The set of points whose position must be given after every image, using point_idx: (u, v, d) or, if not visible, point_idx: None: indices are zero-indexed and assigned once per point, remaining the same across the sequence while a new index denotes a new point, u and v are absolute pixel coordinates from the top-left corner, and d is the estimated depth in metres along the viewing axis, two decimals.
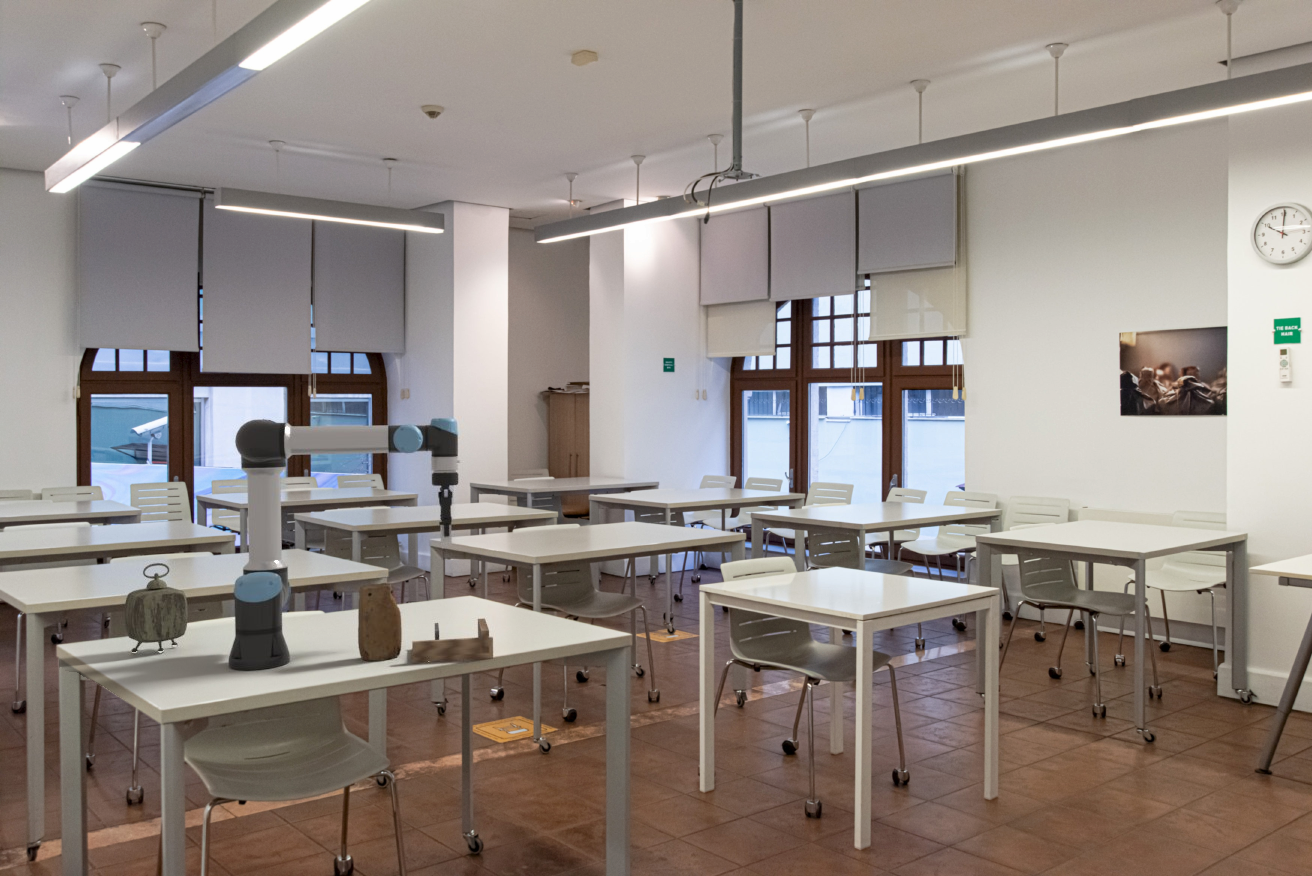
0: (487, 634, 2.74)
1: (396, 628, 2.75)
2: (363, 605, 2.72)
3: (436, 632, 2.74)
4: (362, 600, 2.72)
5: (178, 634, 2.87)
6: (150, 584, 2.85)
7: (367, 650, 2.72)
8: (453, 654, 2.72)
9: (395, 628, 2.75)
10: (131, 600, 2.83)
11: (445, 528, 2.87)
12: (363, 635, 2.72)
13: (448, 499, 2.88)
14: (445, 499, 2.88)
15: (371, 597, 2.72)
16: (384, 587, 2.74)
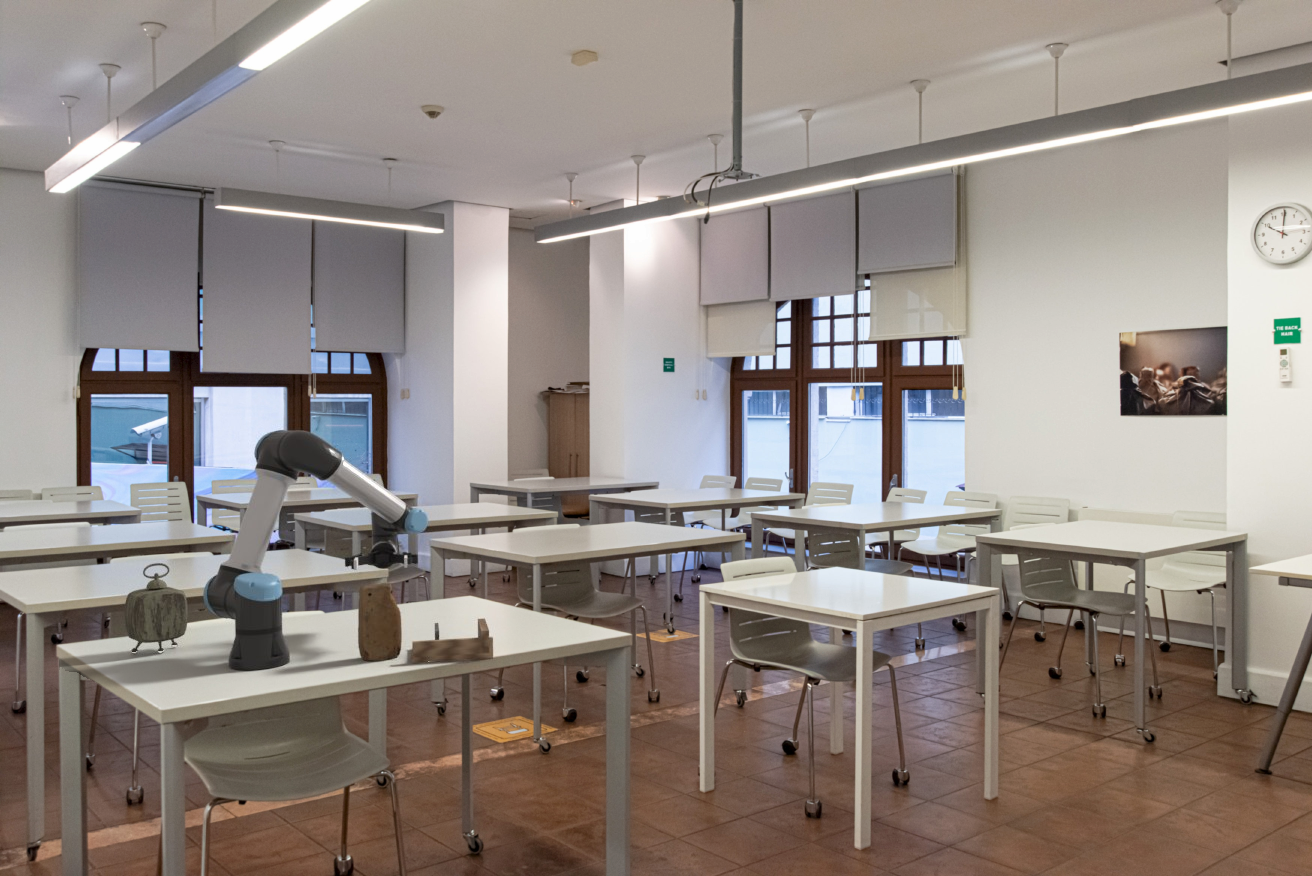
0: (487, 634, 2.74)
1: (396, 628, 2.75)
2: (363, 605, 2.72)
3: (436, 632, 2.74)
4: (362, 600, 2.72)
5: (178, 634, 2.87)
6: (150, 584, 2.85)
7: (367, 650, 2.72)
8: (453, 654, 2.72)
9: (395, 628, 2.75)
10: (131, 600, 2.83)
11: (411, 559, 2.94)
12: (363, 635, 2.72)
13: None
14: None
15: (371, 597, 2.72)
16: (384, 587, 2.74)
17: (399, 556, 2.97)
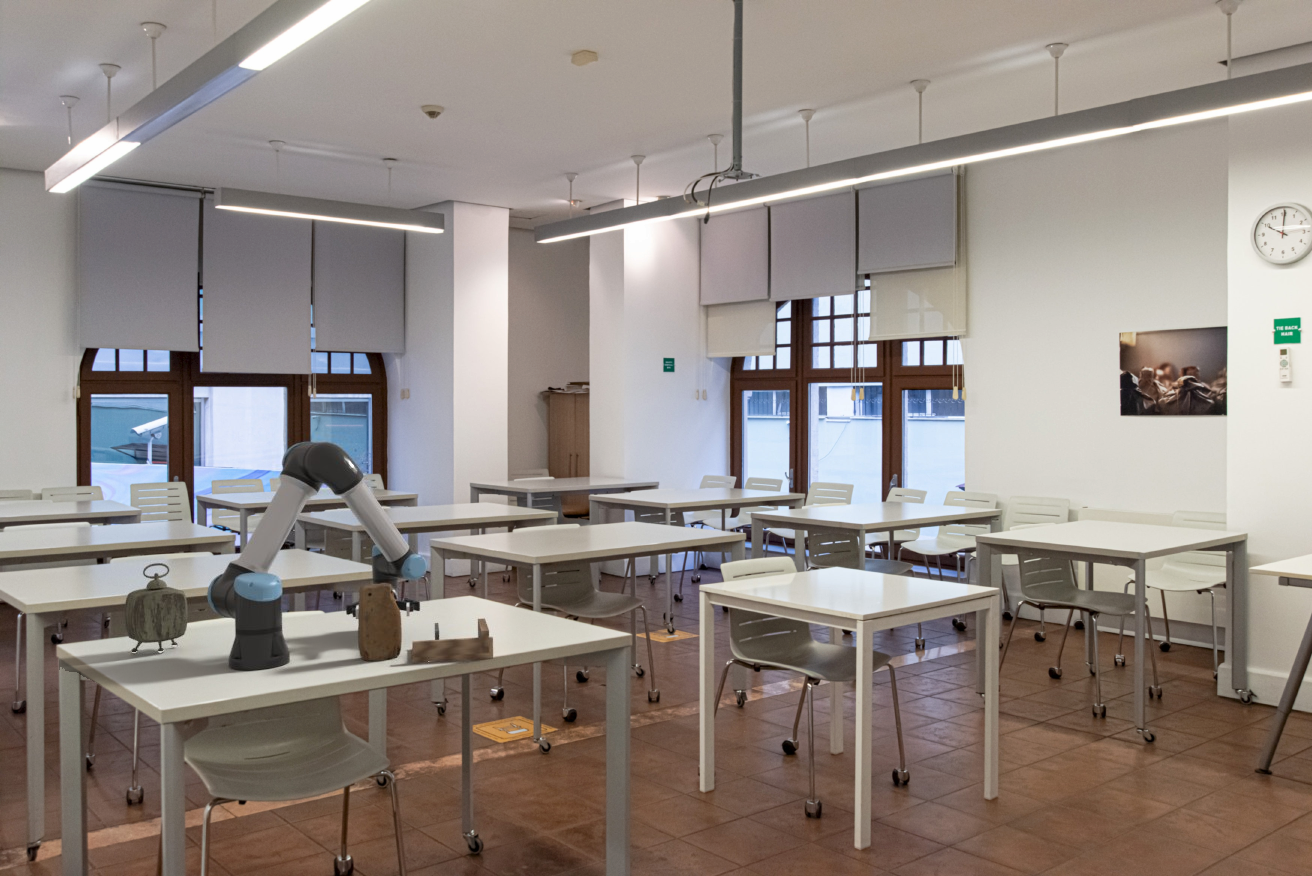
0: (487, 634, 2.74)
1: (396, 628, 2.75)
2: (363, 605, 2.72)
3: (436, 632, 2.74)
4: (362, 600, 2.72)
5: (178, 634, 2.87)
6: (150, 584, 2.85)
7: (367, 650, 2.72)
8: (453, 654, 2.72)
9: (395, 628, 2.75)
10: (131, 600, 2.83)
11: None
12: (363, 635, 2.72)
13: None
14: None
15: (371, 597, 2.72)
16: (384, 587, 2.74)
17: (401, 603, 2.94)
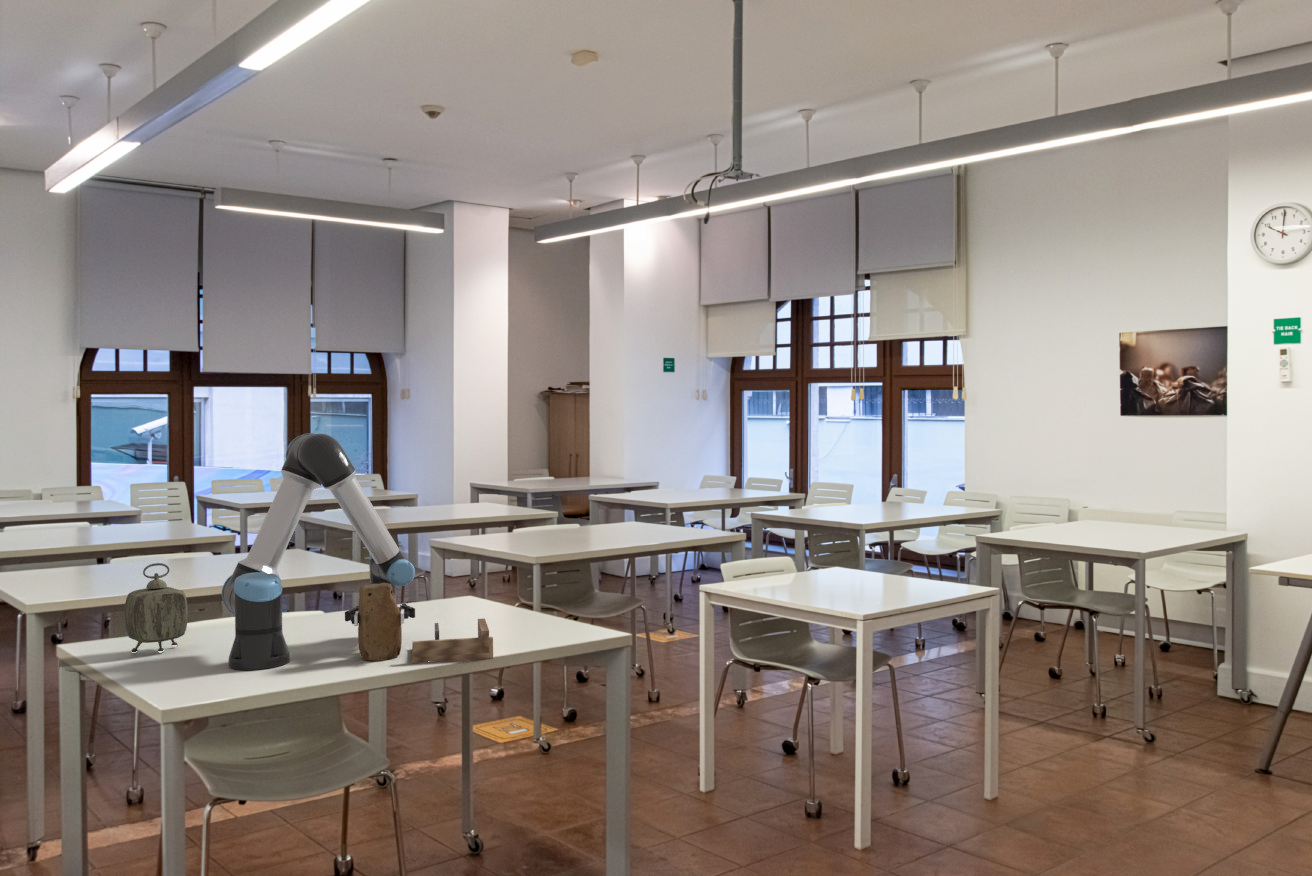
0: (487, 634, 2.74)
1: (396, 628, 2.75)
2: (363, 605, 2.72)
3: (436, 632, 2.74)
4: (362, 600, 2.72)
5: (178, 634, 2.87)
6: (150, 584, 2.85)
7: (367, 650, 2.72)
8: (453, 654, 2.72)
9: (395, 628, 2.75)
10: (131, 600, 2.83)
11: (408, 613, 2.80)
12: (363, 635, 2.72)
13: None
14: None
15: (371, 597, 2.72)
16: (384, 587, 2.74)
17: None
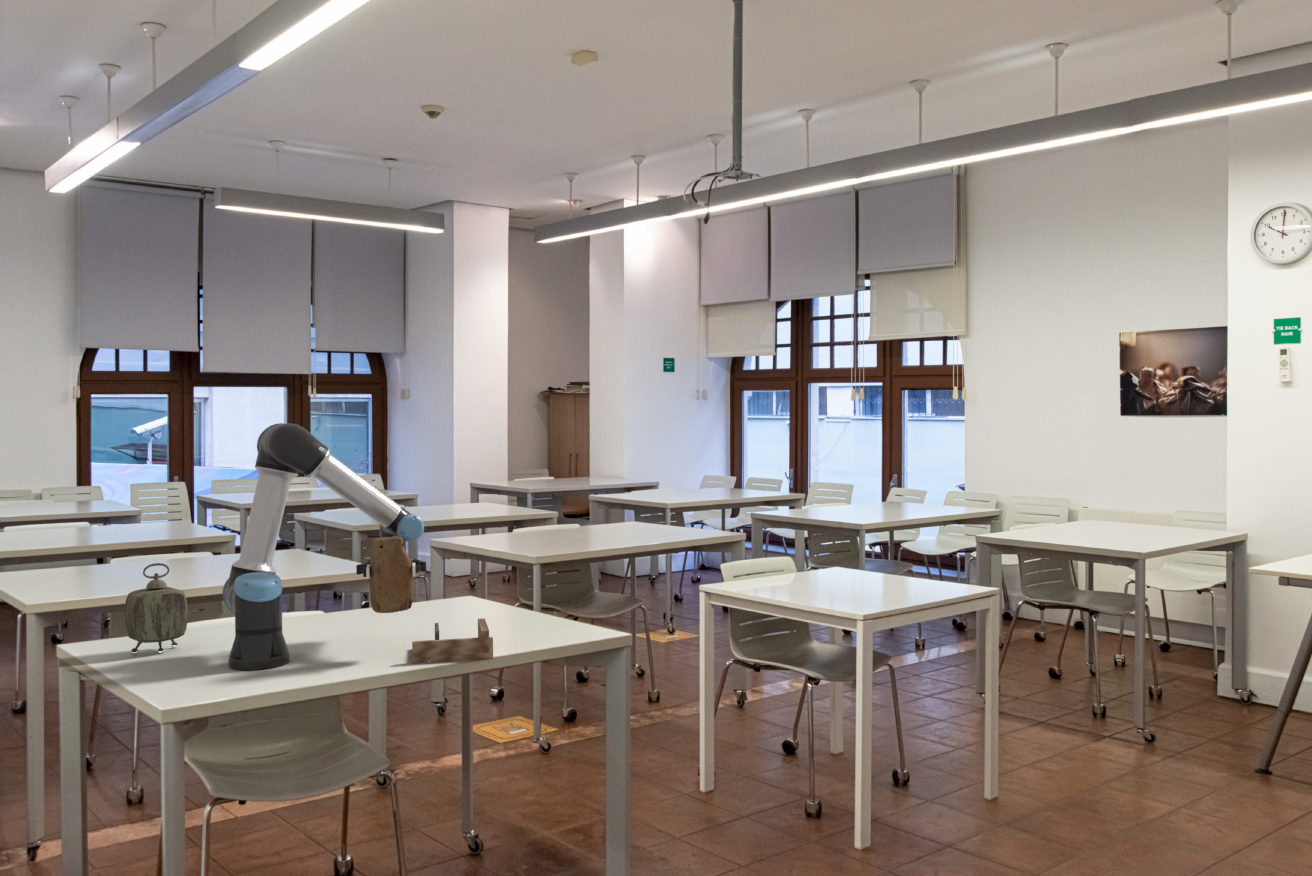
0: (487, 634, 2.74)
1: (408, 580, 2.76)
2: (375, 557, 2.73)
3: (436, 632, 2.74)
4: (374, 552, 2.73)
5: (178, 634, 2.87)
6: (150, 584, 2.85)
7: (379, 602, 2.73)
8: (453, 654, 2.72)
9: (406, 580, 2.76)
10: (131, 600, 2.83)
11: (419, 566, 2.81)
12: (375, 587, 2.73)
13: None
14: None
15: (383, 549, 2.73)
16: (395, 539, 2.75)
17: None
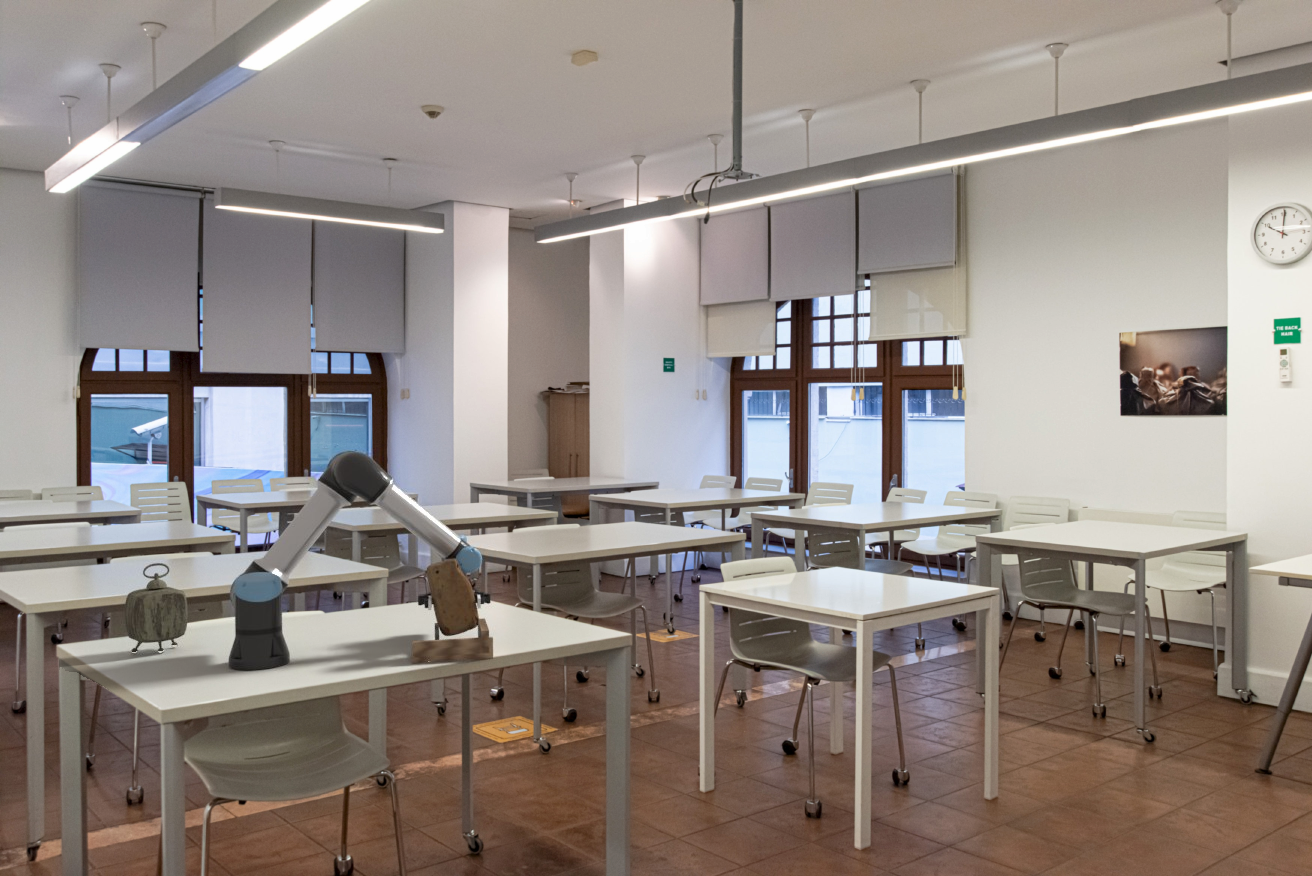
0: (487, 634, 2.74)
1: (470, 599, 2.80)
2: (433, 583, 2.76)
3: (436, 632, 2.74)
4: (431, 579, 2.77)
5: (178, 634, 2.87)
6: (150, 584, 2.85)
7: (447, 625, 2.77)
8: (453, 654, 2.72)
9: (468, 599, 2.80)
10: (131, 600, 2.83)
11: None
12: (439, 612, 2.77)
13: None
14: None
15: (439, 574, 2.77)
16: (449, 562, 2.78)
17: None
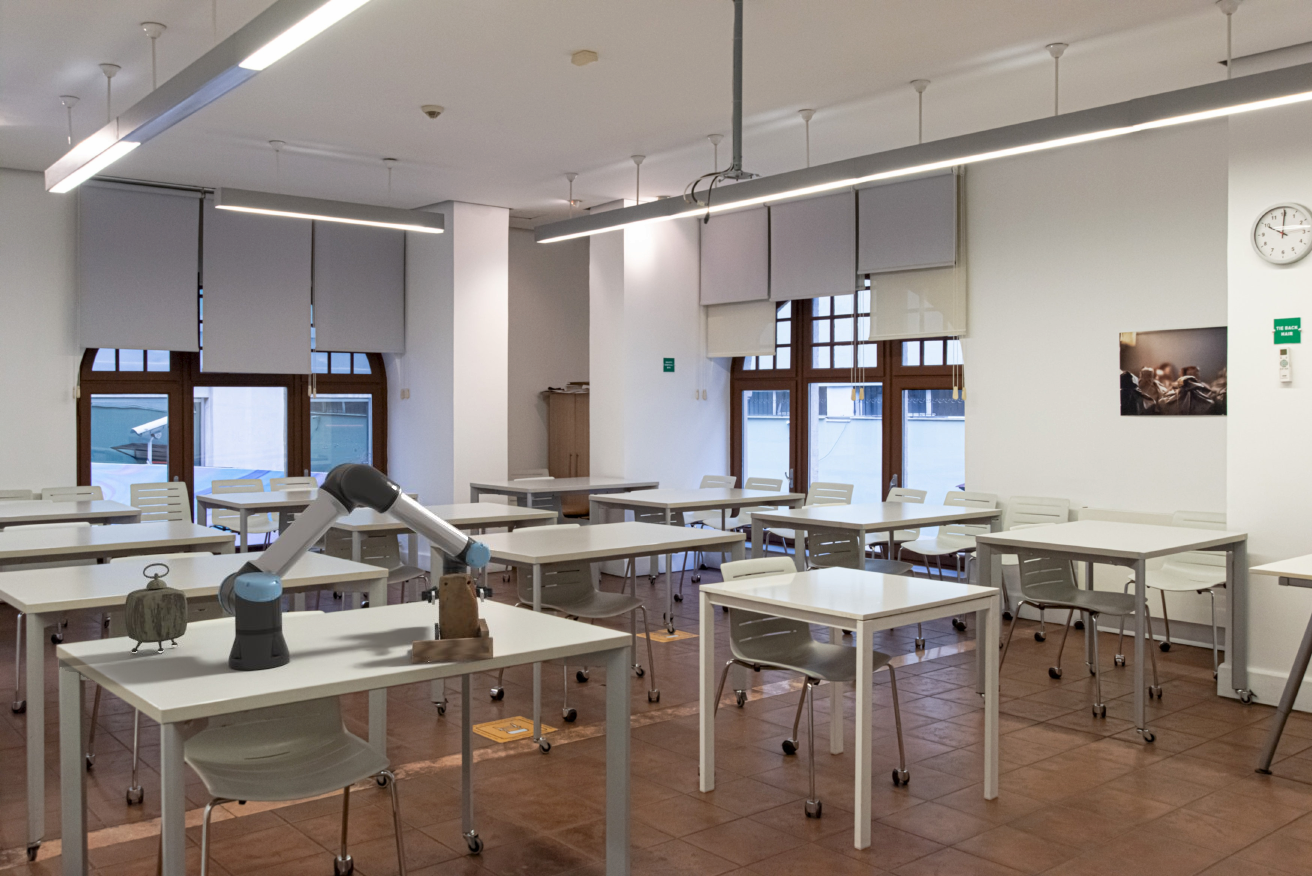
0: (487, 634, 2.74)
1: (472, 618, 2.80)
2: (439, 594, 2.79)
3: (436, 632, 2.74)
4: (439, 589, 2.79)
5: (178, 634, 2.87)
6: (150, 584, 2.85)
7: (443, 638, 2.79)
8: (453, 654, 2.72)
9: (470, 618, 2.80)
10: (131, 600, 2.83)
11: None
12: (439, 623, 2.79)
13: None
14: None
15: (447, 586, 2.79)
16: (460, 577, 2.79)
17: None
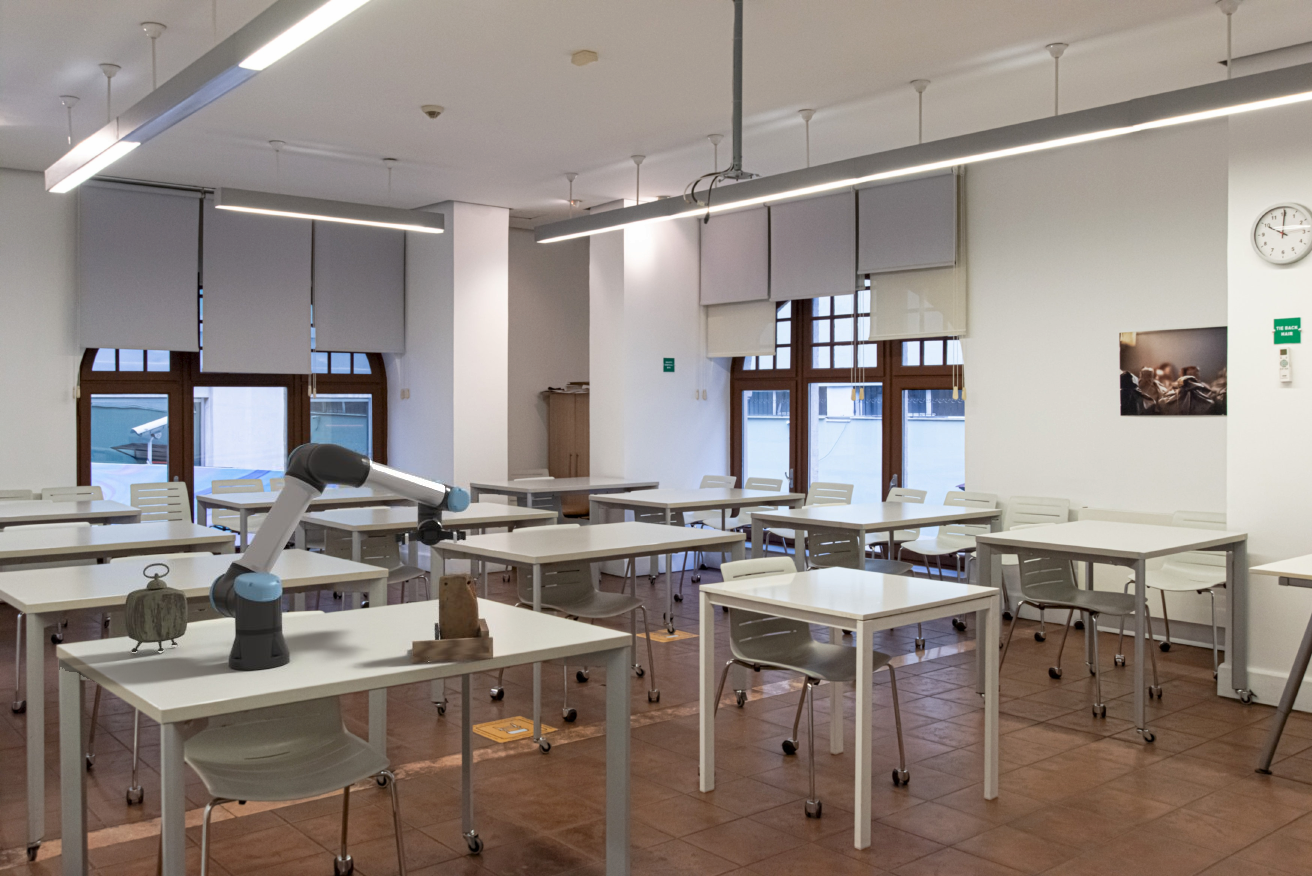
0: (487, 634, 2.74)
1: (472, 618, 2.80)
2: (439, 594, 2.79)
3: (436, 632, 2.74)
4: (439, 589, 2.79)
5: (178, 634, 2.87)
6: (150, 584, 2.85)
7: (443, 638, 2.79)
8: (453, 654, 2.72)
9: (470, 618, 2.80)
10: (131, 600, 2.83)
11: None
12: (439, 623, 2.79)
13: None
14: None
15: (447, 586, 2.79)
16: (460, 577, 2.79)
17: (447, 533, 3.03)
